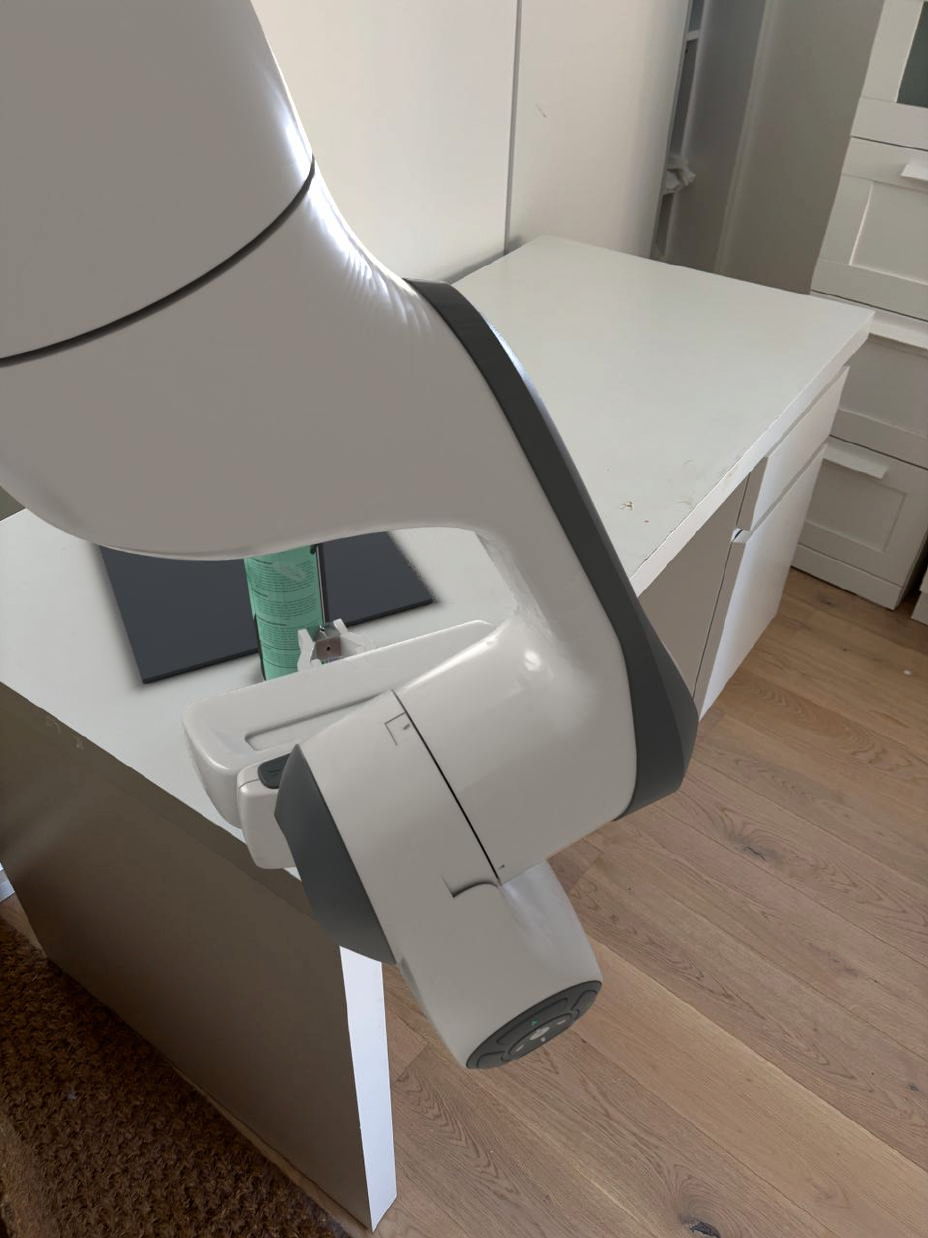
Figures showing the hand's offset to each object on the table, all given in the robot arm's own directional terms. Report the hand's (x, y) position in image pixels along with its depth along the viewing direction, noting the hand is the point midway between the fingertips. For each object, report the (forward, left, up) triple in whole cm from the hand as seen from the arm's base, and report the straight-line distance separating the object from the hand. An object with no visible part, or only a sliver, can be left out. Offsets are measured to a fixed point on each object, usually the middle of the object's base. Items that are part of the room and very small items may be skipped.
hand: (319, 632), depth 63 cm
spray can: (0, +7, -10) cm, 12 cm away
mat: (+1, +23, -10) cm, 25 cm away
